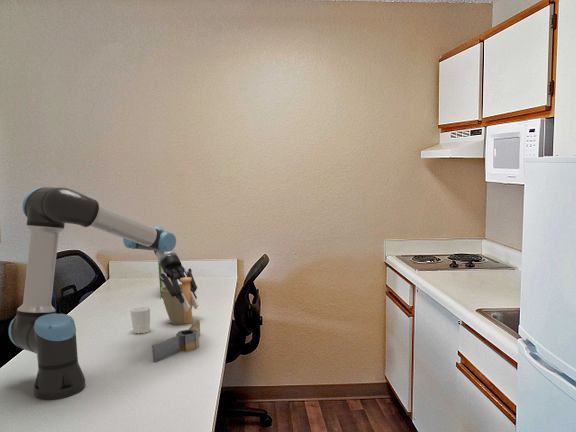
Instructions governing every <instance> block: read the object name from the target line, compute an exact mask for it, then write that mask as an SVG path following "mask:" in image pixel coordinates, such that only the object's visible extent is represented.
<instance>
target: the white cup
mask: <svg viewBox="0 0 576 432" xmlns="http://www.w3.org/2000/svg"><path fill="white" fill-rule="evenodd" d="M150 313H151V309H150V307H149V306H145V305H144V306H135V307H132V308H131V309H130V317H131V324H132V331H133V333H134V334H135V333H138V334H137V335H140V334H139V333H144V334H147V333H149V332H150V331H151V328H150V327H151V314H150ZM146 332H147V333H146Z"/></svg>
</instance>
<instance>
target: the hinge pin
mask: <svg viewBox="0 0 576 432" xmlns="http://www.w3.org/2000/svg"><path fill="white" fill-rule="evenodd" d="M190 281H192V278H191V277H187V276H185V277H183V278H180V281H179V282H180V283H181V282H182V283H181V284H182V291H183V293H184V295H185V297H186V299H187V301H188V303H189V305H190V309H189V310H188V311H186V310H185V308H184V322H185V324H192V323H193V312H192V311H193V306H192V307H191V291H190ZM183 307H184V306H183Z"/></svg>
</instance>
